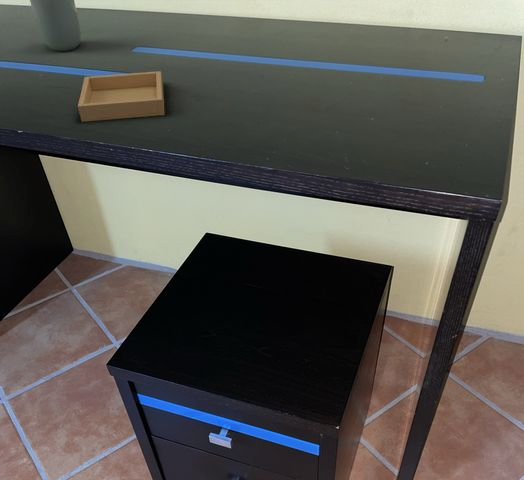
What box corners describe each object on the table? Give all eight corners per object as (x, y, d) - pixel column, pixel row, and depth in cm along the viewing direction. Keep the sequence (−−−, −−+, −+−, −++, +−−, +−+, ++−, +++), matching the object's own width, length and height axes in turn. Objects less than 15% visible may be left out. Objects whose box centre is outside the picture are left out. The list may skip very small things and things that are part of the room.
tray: (82, 123, 80) (77, 106, 78) (88, 93, 88) (84, 76, 86) (164, 116, 81) (162, 99, 79) (163, 87, 89) (160, 71, 87)
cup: (92, 45, 107) (79, -14, 99) (68, 56, 102) (52, -4, 94) (61, 41, 109) (46, -17, 102) (37, 52, 104) (19, -7, 97)
